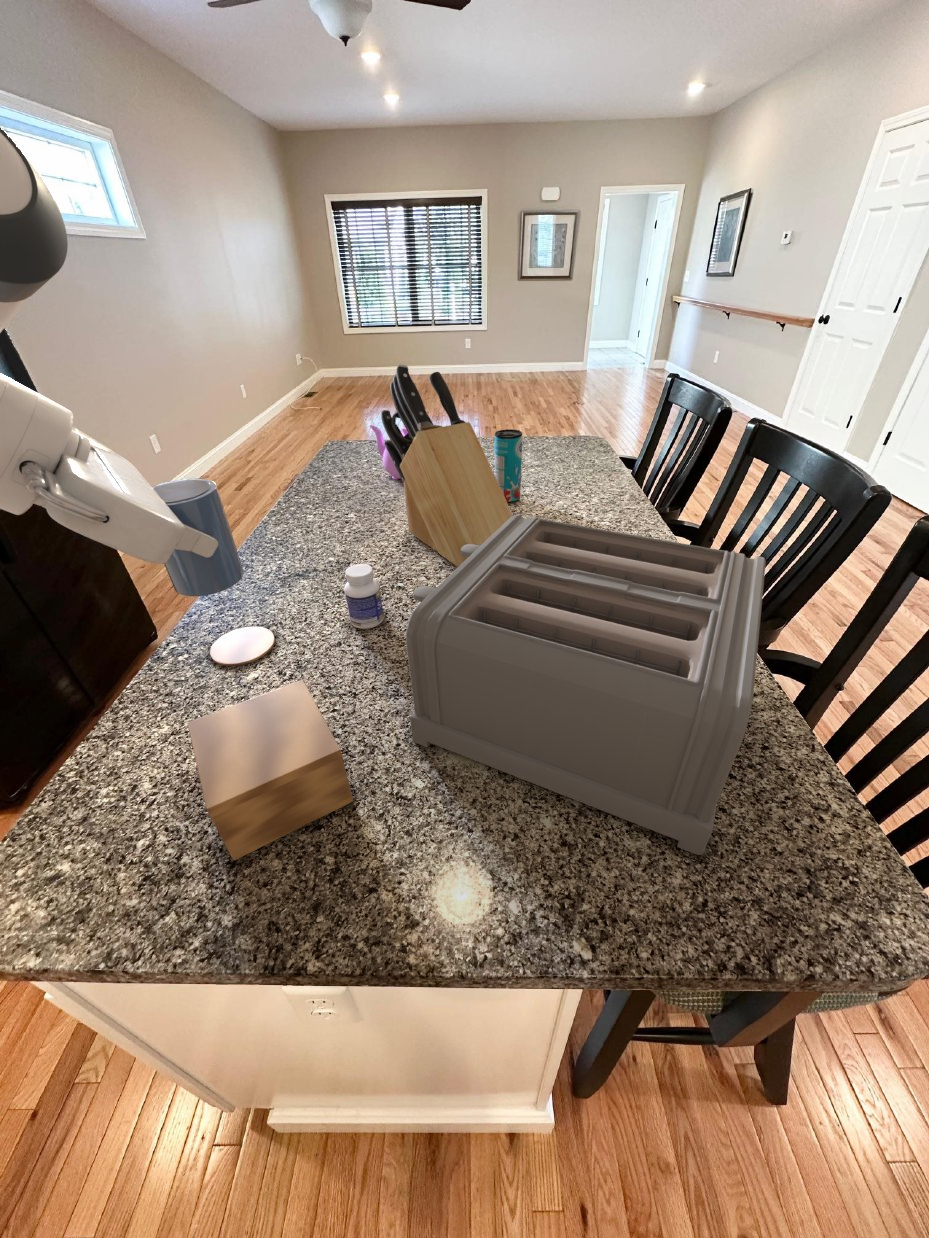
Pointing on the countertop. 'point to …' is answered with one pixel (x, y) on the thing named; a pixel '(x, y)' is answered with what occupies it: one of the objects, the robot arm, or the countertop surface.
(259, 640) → the coaster
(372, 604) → the pill bottle
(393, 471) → the teapot
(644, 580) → the toaster
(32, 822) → the countertop surface
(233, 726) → the wood block
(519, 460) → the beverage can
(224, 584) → the cup
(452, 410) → the knife block
